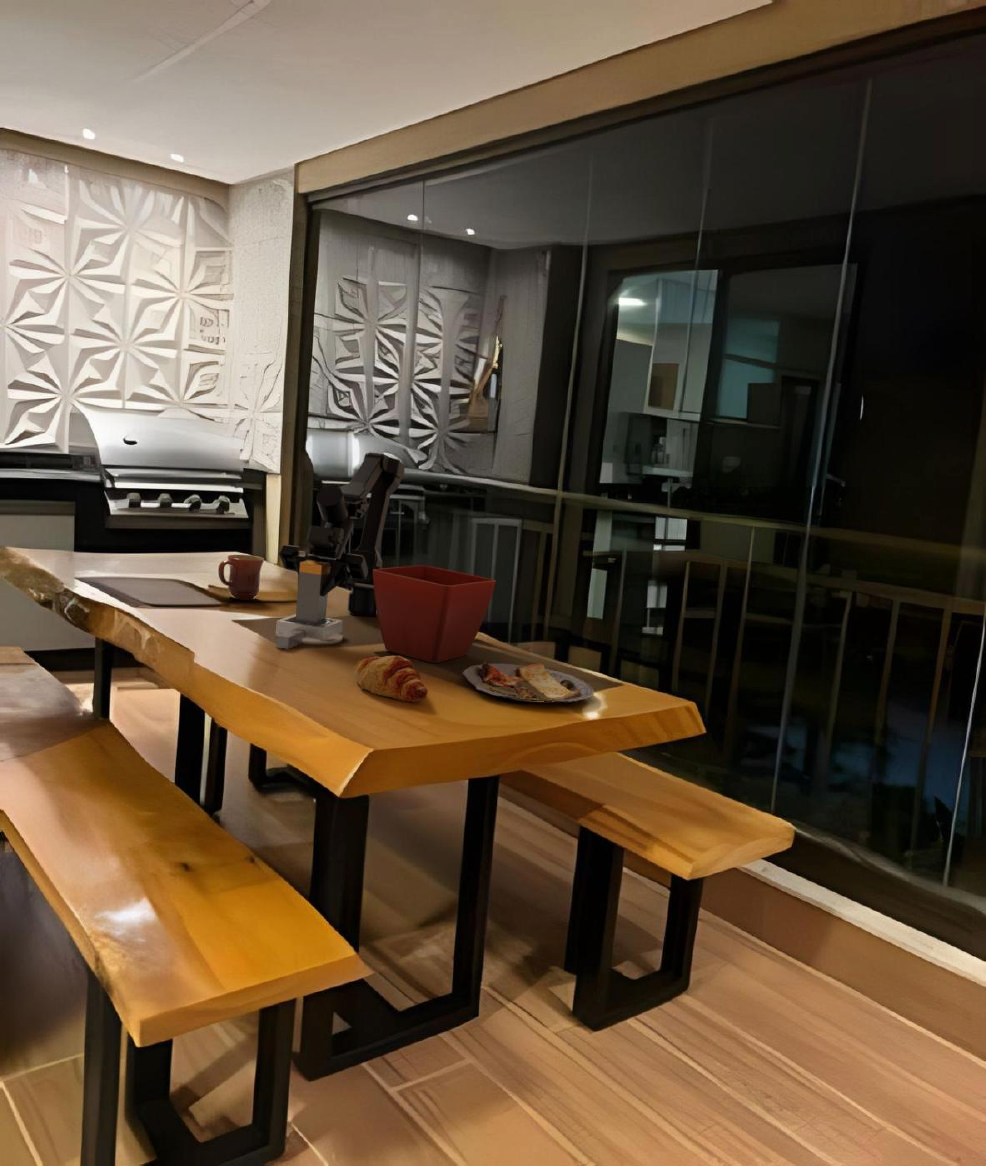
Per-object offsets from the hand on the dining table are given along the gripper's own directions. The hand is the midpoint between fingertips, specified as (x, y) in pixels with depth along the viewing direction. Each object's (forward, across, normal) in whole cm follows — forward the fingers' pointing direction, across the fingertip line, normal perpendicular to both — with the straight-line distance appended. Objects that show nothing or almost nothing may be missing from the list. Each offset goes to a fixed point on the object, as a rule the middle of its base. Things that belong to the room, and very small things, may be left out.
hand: (310, 593), depth 203 cm
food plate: (+16, +50, -2) cm, 52 cm away
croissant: (+27, +28, -13) cm, 41 cm away
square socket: (+8, 0, +5) cm, 10 cm away
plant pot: (+5, +26, +9) cm, 28 cm away
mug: (-13, -31, +27) cm, 43 cm away
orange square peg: (+4, 0, +6) cm, 7 cm away
